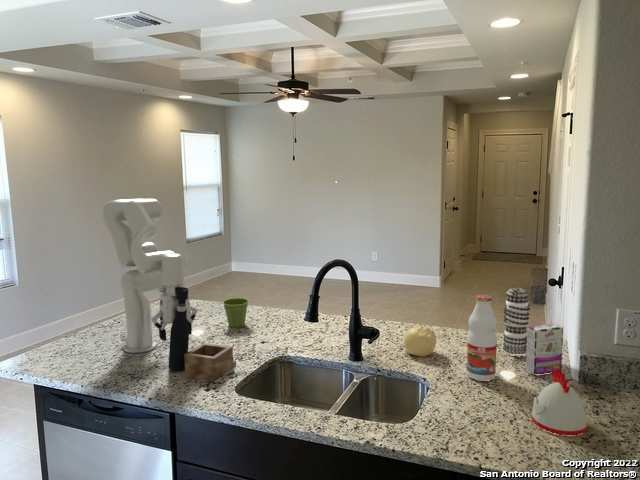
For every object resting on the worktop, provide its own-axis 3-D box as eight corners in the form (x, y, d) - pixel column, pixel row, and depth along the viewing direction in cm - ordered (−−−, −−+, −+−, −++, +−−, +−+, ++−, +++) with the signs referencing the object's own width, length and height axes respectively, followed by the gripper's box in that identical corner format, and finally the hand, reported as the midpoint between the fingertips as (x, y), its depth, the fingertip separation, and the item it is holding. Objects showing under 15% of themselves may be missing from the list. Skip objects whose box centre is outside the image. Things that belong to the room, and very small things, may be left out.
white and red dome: (570, 411, 149) (573, 362, 146) (597, 436, 135) (601, 382, 133) (523, 412, 148) (525, 363, 146) (545, 437, 134) (548, 383, 132)
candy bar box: (551, 367, 180) (554, 322, 178) (561, 373, 176) (564, 327, 173) (524, 371, 177) (526, 325, 175) (533, 377, 173) (536, 330, 170)
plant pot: (221, 323, 235) (220, 299, 234) (247, 320, 239) (246, 297, 237) (225, 330, 224) (224, 305, 222) (251, 328, 228) (251, 303, 226)
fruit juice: (496, 373, 176) (500, 294, 172) (493, 384, 167) (497, 301, 163) (468, 369, 179) (471, 291, 175) (464, 379, 171) (466, 298, 167)
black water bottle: (181, 373, 179) (187, 294, 170) (165, 369, 180) (169, 290, 171) (190, 364, 185) (195, 288, 176) (173, 360, 186) (178, 284, 178)
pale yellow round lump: (434, 360, 188) (434, 332, 186) (401, 357, 192) (401, 329, 190) (437, 350, 198) (438, 323, 197) (406, 346, 202) (407, 320, 201)
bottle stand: (181, 377, 175) (180, 356, 174) (207, 360, 190) (206, 341, 189) (212, 382, 171) (211, 360, 170) (236, 364, 185) (235, 344, 184)
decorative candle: (533, 356, 191) (536, 291, 188) (512, 358, 189) (515, 293, 185) (517, 347, 200) (520, 285, 196) (496, 350, 198) (499, 287, 194)
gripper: (155, 295, 170) (158, 345, 172) (201, 286, 181) (203, 333, 184) (145, 291, 175) (148, 339, 177) (190, 283, 187) (192, 328, 189)
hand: (176, 336), depth 181 cm, fingers open, 9 cm apart
